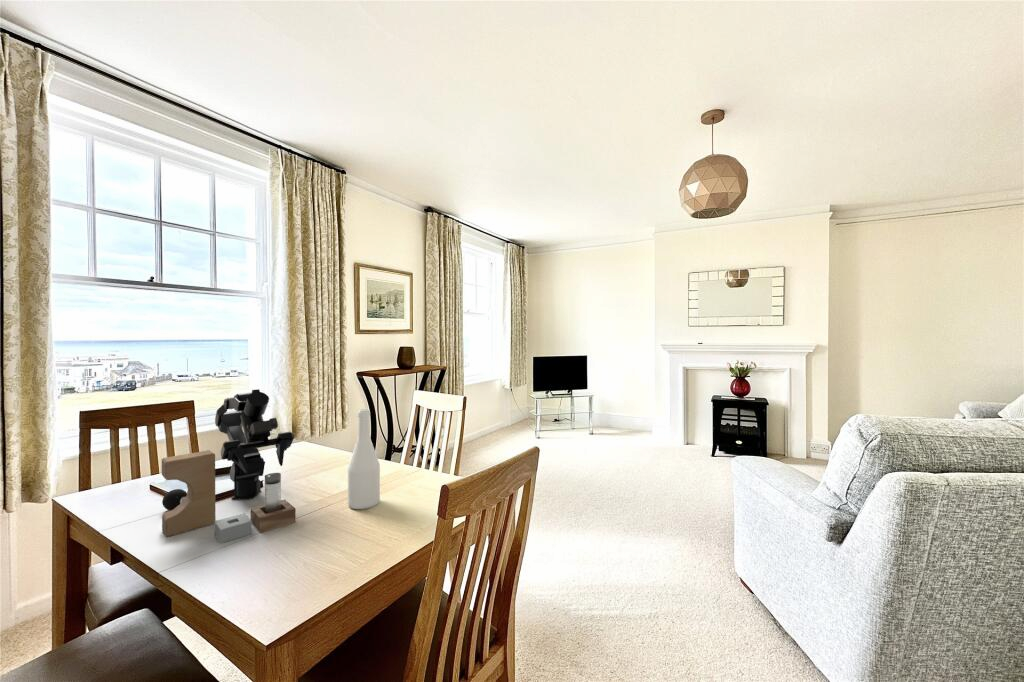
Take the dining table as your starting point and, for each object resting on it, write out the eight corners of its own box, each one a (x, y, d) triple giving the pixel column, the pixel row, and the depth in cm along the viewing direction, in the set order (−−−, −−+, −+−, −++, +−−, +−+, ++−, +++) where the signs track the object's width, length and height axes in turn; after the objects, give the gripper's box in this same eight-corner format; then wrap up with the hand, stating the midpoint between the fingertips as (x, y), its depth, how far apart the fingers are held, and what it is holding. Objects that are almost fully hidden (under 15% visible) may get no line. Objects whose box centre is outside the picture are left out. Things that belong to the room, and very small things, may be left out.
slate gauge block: (214, 533, 112) (214, 521, 112) (244, 525, 117) (244, 513, 117) (220, 543, 107) (220, 529, 107) (251, 533, 112) (251, 520, 112)
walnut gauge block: (250, 522, 119) (250, 508, 119) (284, 512, 125) (284, 499, 125) (259, 532, 112) (259, 518, 112) (295, 522, 119) (295, 508, 119)
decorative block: (165, 538, 109) (164, 462, 109) (161, 530, 113) (161, 457, 113) (216, 524, 117) (215, 453, 117) (211, 517, 121) (210, 449, 121)
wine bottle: (355, 497, 137) (355, 406, 136) (383, 498, 136) (383, 407, 136) (342, 510, 127) (342, 412, 127) (373, 510, 127) (373, 412, 126)
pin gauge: (262, 523, 117) (261, 477, 116) (268, 517, 121) (268, 472, 120) (277, 523, 117) (277, 477, 117) (283, 516, 121) (283, 472, 121)
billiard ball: (173, 514, 123) (173, 494, 123) (157, 512, 125) (157, 492, 125) (193, 506, 129) (192, 487, 129) (177, 504, 131) (177, 485, 130)
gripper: (222, 414, 121) (232, 460, 113) (291, 406, 134) (304, 447, 127) (216, 436, 126) (225, 482, 119) (283, 427, 140) (295, 467, 132)
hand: (264, 468), depth 124 cm, fingers open, 9 cm apart
